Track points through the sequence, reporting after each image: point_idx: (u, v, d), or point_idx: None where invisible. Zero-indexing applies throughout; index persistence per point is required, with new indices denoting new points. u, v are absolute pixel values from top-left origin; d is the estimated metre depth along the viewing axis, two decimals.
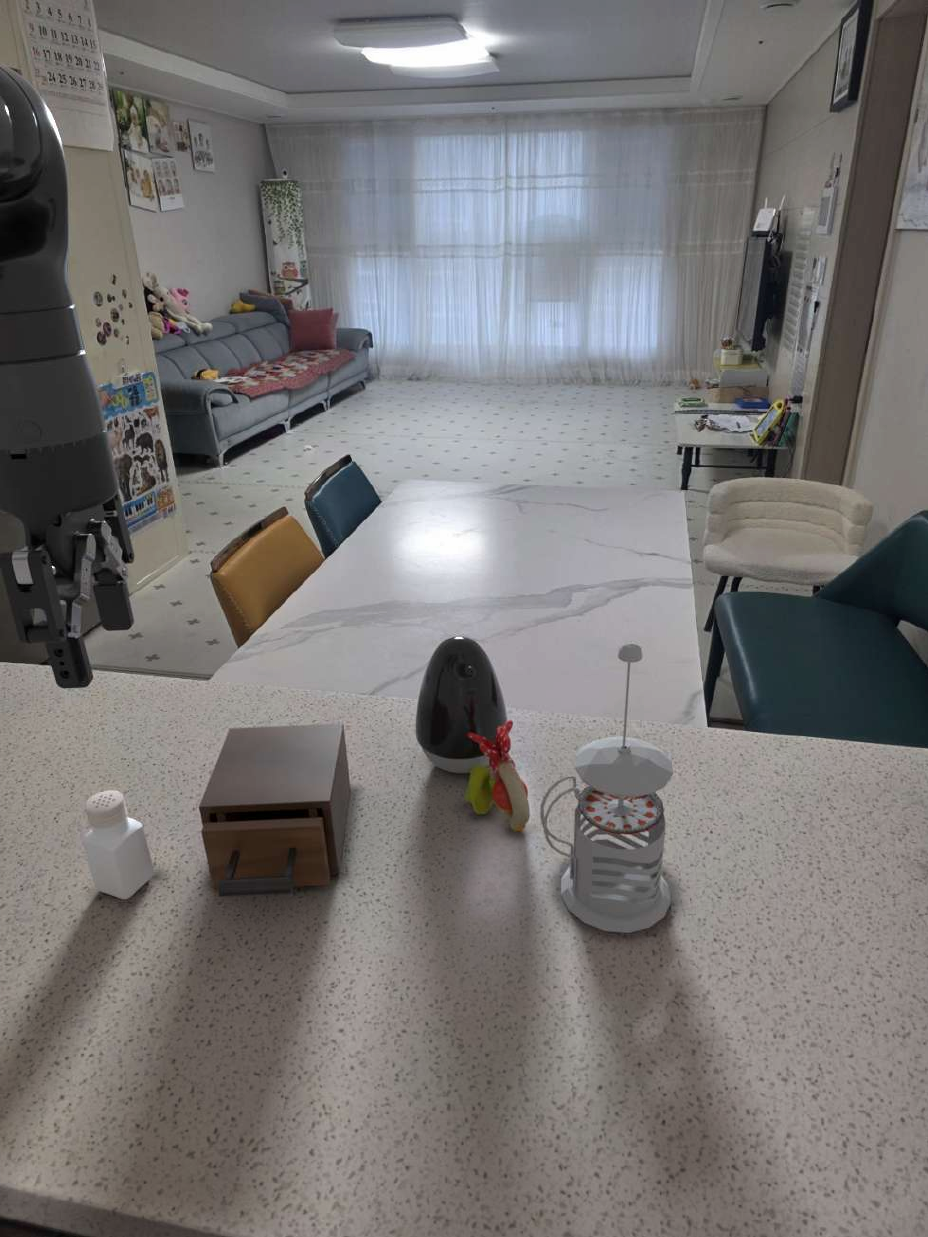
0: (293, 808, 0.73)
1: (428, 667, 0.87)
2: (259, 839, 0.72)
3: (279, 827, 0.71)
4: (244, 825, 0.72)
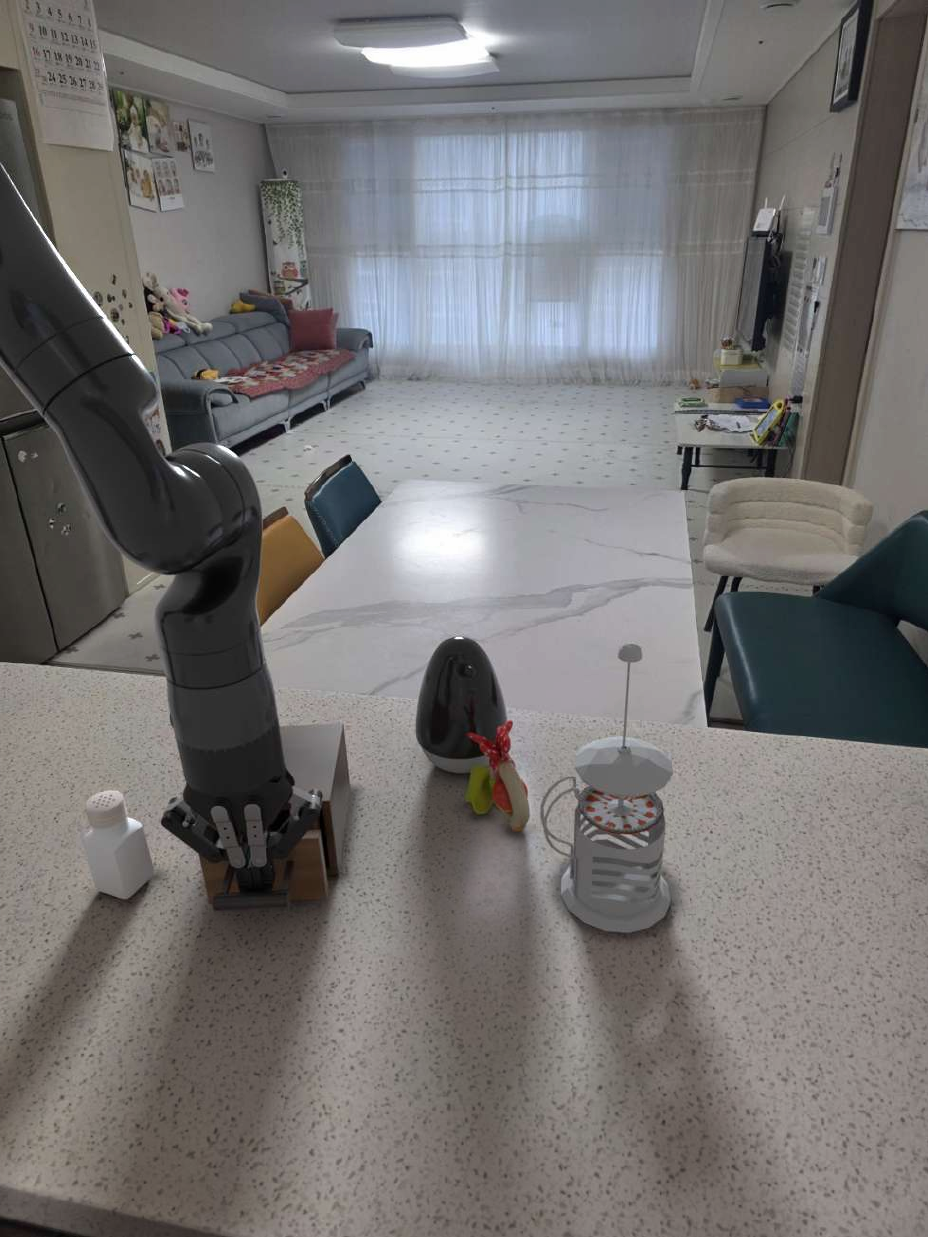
0: None
1: (428, 667, 0.87)
2: None
3: None
4: None
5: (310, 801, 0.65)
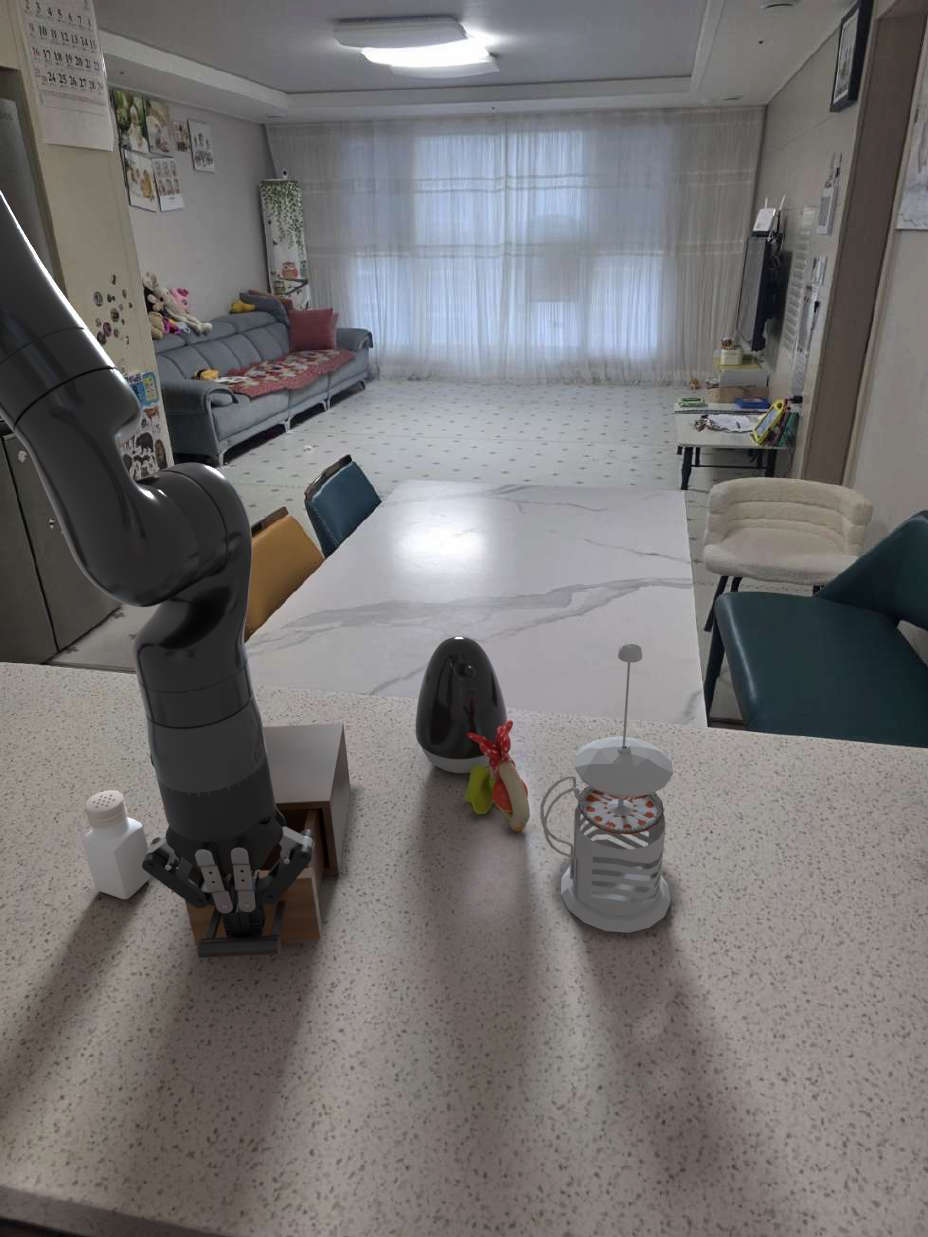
0: (293, 808, 0.73)
1: (428, 667, 0.87)
2: None
3: None
4: None
5: (302, 843, 0.61)
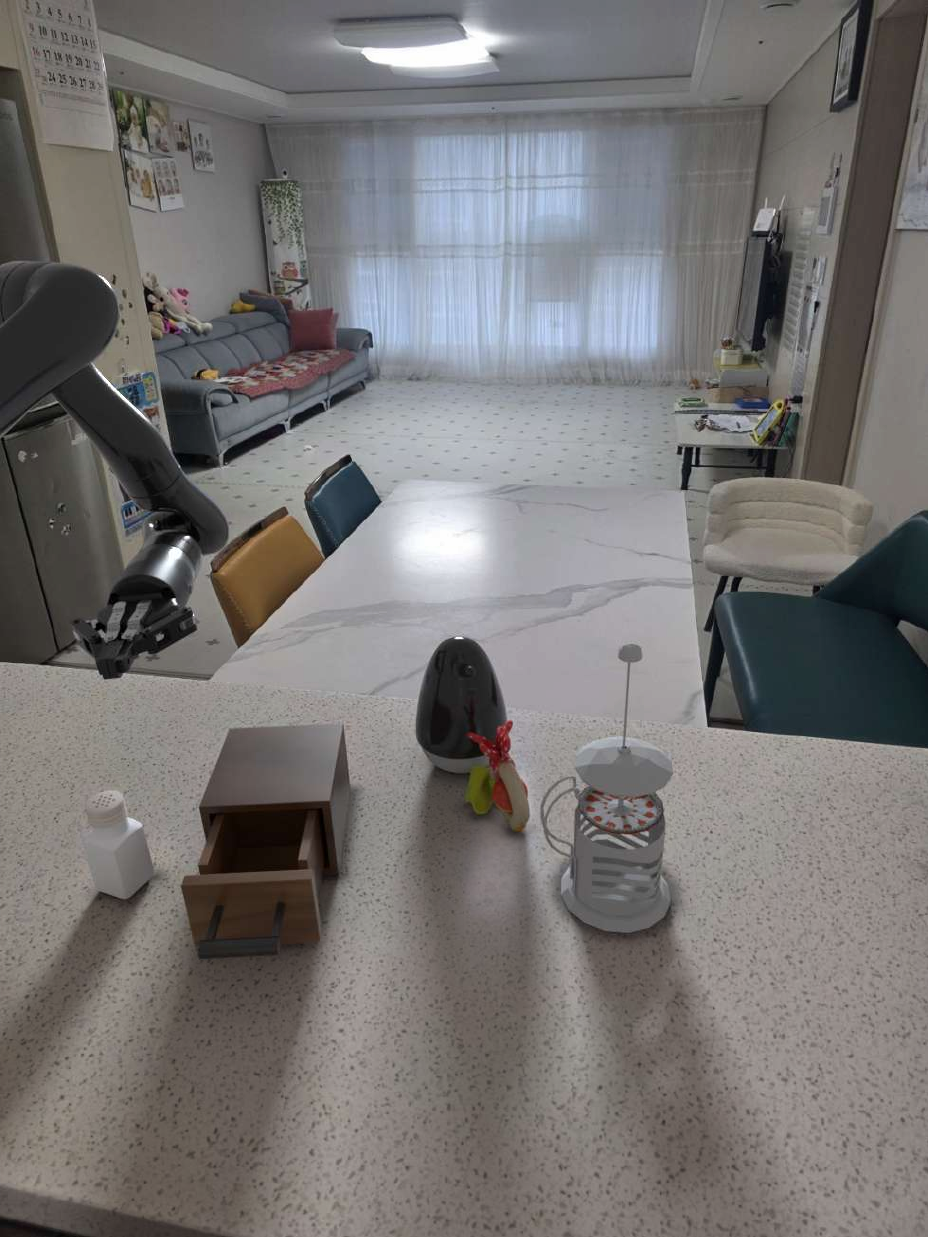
0: (293, 808, 0.73)
1: (428, 667, 0.87)
2: (244, 894, 0.66)
3: (266, 881, 0.66)
4: (228, 878, 0.66)
5: None
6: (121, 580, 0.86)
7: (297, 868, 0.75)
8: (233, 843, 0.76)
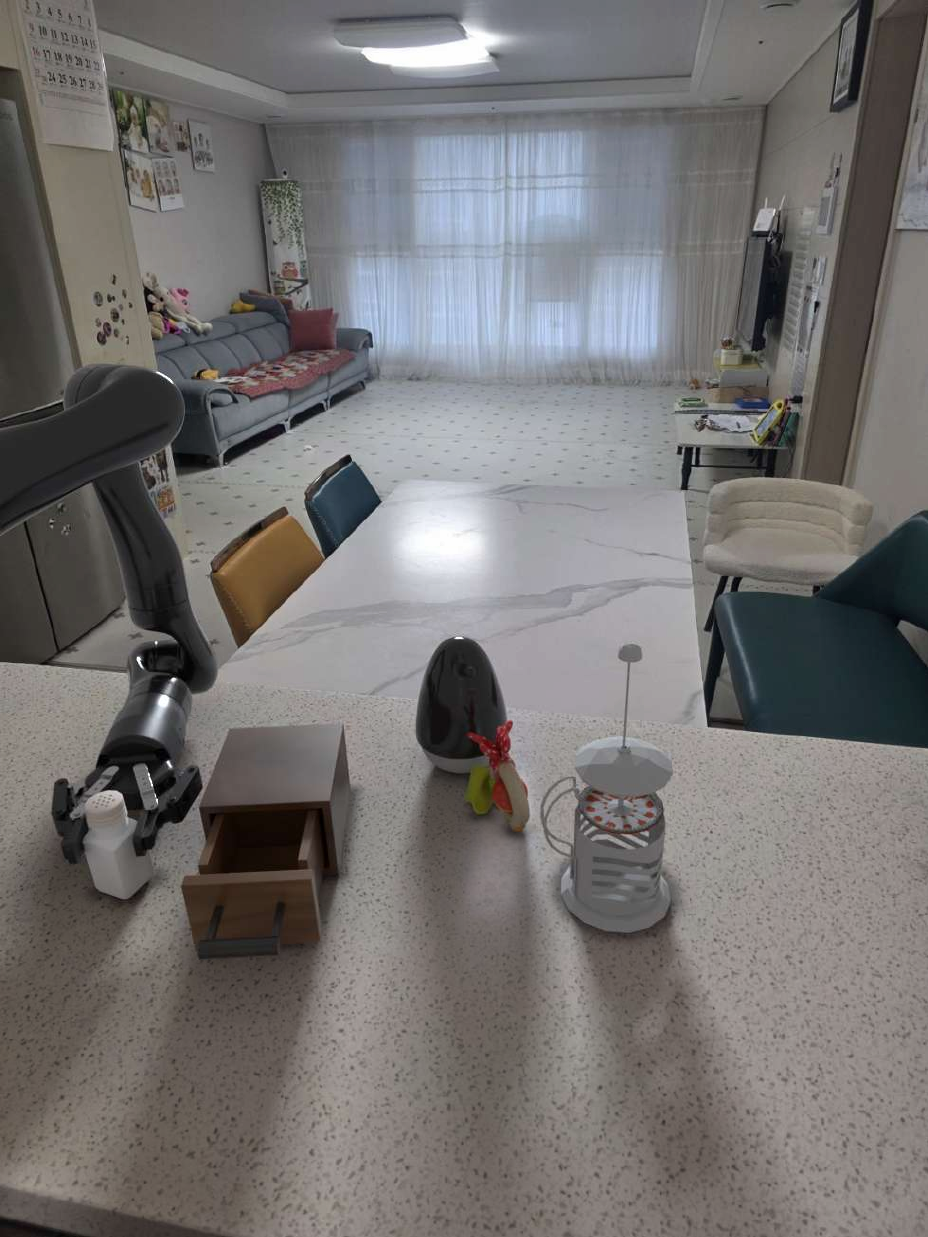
0: (293, 808, 0.73)
1: (428, 667, 0.87)
2: (244, 894, 0.66)
3: (266, 881, 0.66)
4: (228, 878, 0.66)
5: None
6: (113, 741, 0.81)
7: (297, 868, 0.75)
8: (233, 843, 0.76)
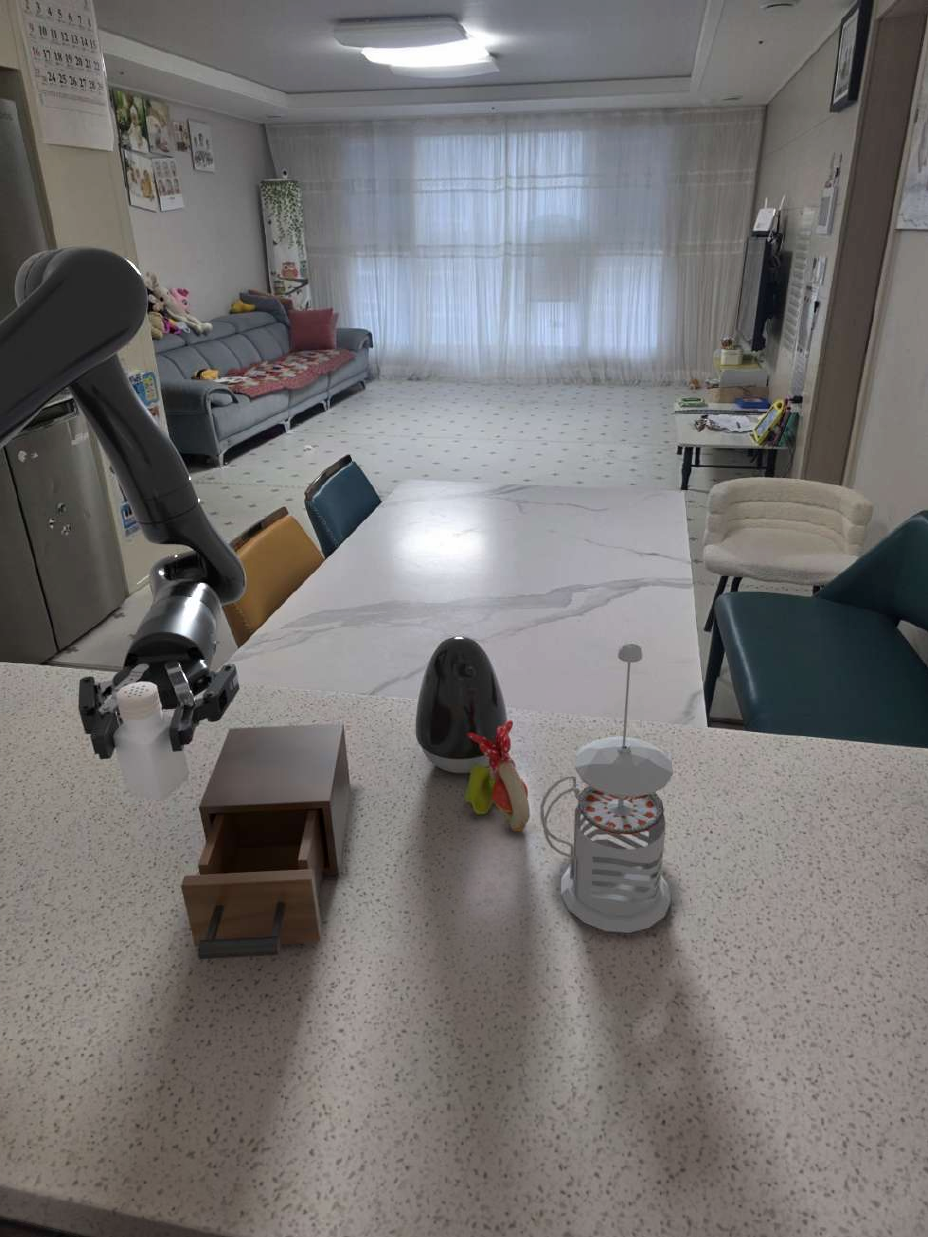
0: (293, 808, 0.73)
1: (428, 667, 0.87)
2: (244, 894, 0.66)
3: (266, 881, 0.66)
4: (228, 878, 0.66)
5: None
6: (142, 638, 0.75)
7: (297, 868, 0.75)
8: (233, 843, 0.76)
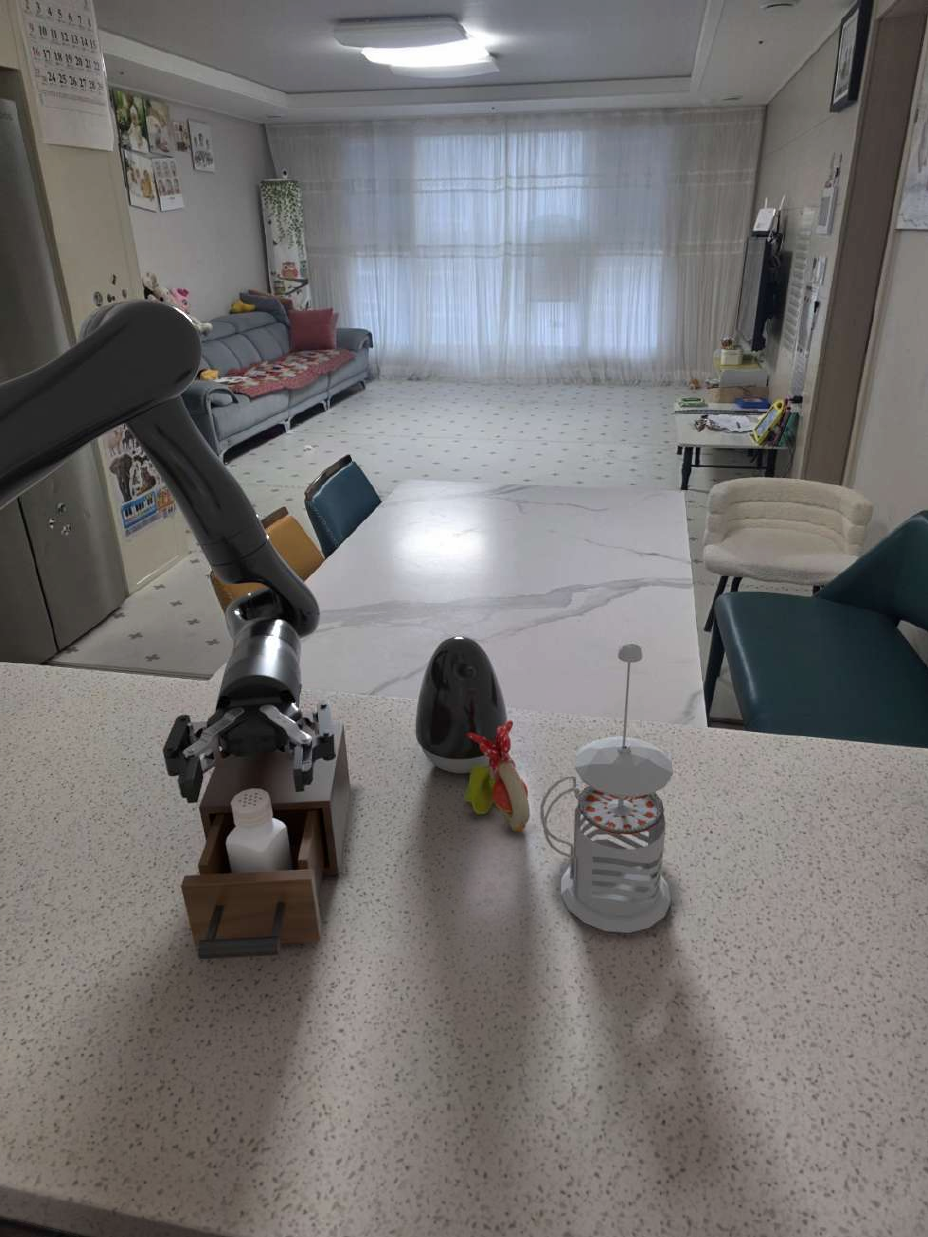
0: (293, 808, 0.73)
1: (428, 667, 0.87)
2: (244, 894, 0.66)
3: (266, 881, 0.66)
4: (228, 878, 0.66)
5: None
6: (235, 681, 0.75)
7: (297, 868, 0.75)
8: None
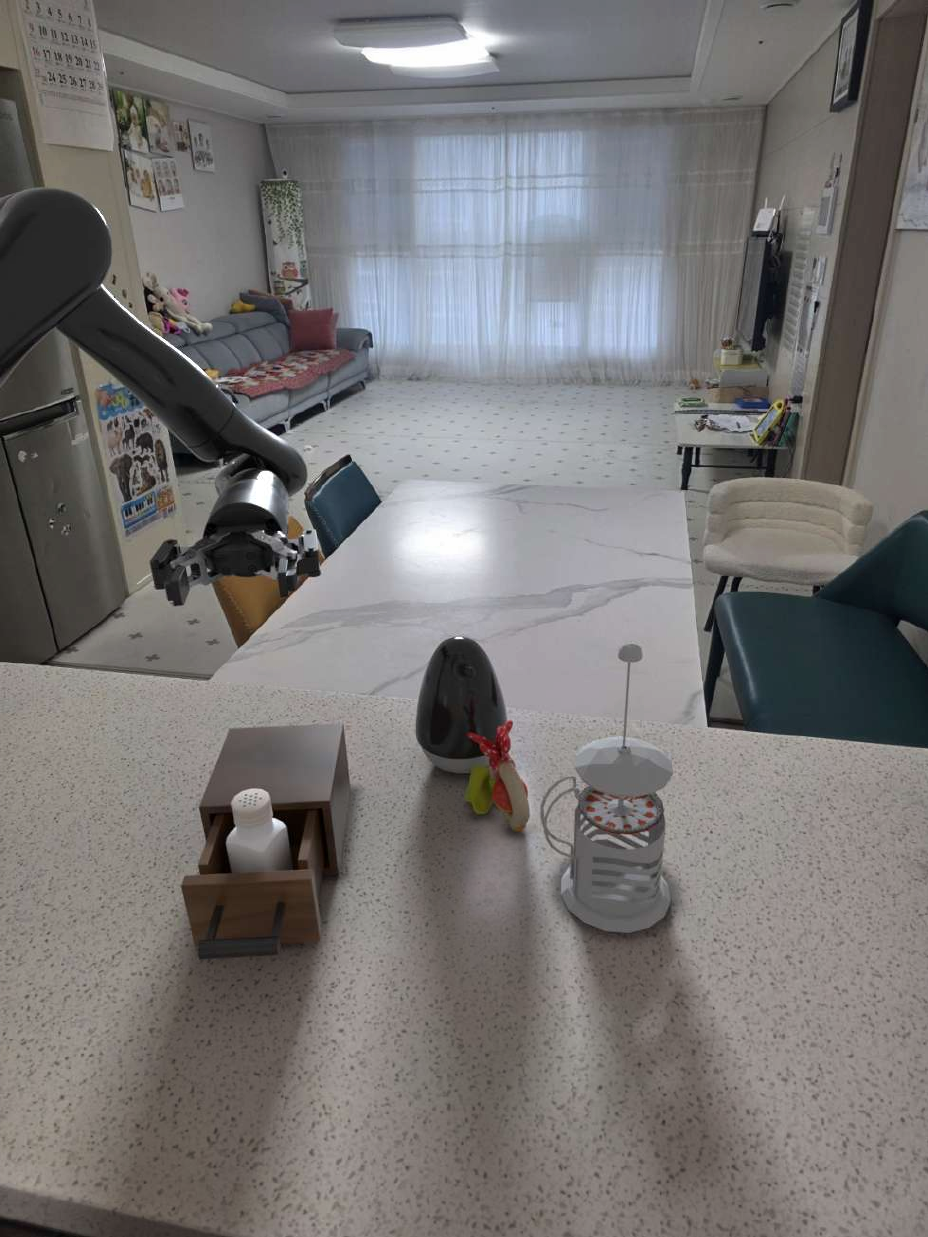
0: (293, 808, 0.73)
1: (428, 667, 0.87)
2: (244, 894, 0.66)
3: (266, 881, 0.66)
4: (228, 878, 0.66)
5: None
6: (221, 508, 0.76)
7: (297, 868, 0.75)
8: None
